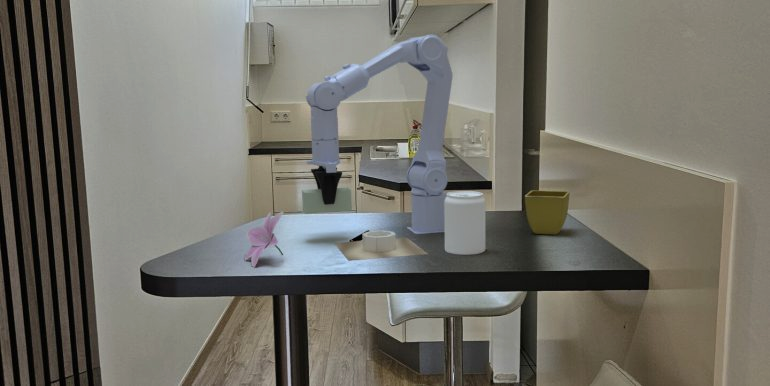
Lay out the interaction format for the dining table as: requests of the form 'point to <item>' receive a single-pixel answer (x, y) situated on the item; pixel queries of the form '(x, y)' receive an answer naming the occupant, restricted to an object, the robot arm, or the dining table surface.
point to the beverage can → (464, 222)
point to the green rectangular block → (316, 205)
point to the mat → (358, 253)
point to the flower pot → (546, 210)
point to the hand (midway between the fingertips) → (327, 202)
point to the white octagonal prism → (379, 241)
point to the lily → (262, 237)
